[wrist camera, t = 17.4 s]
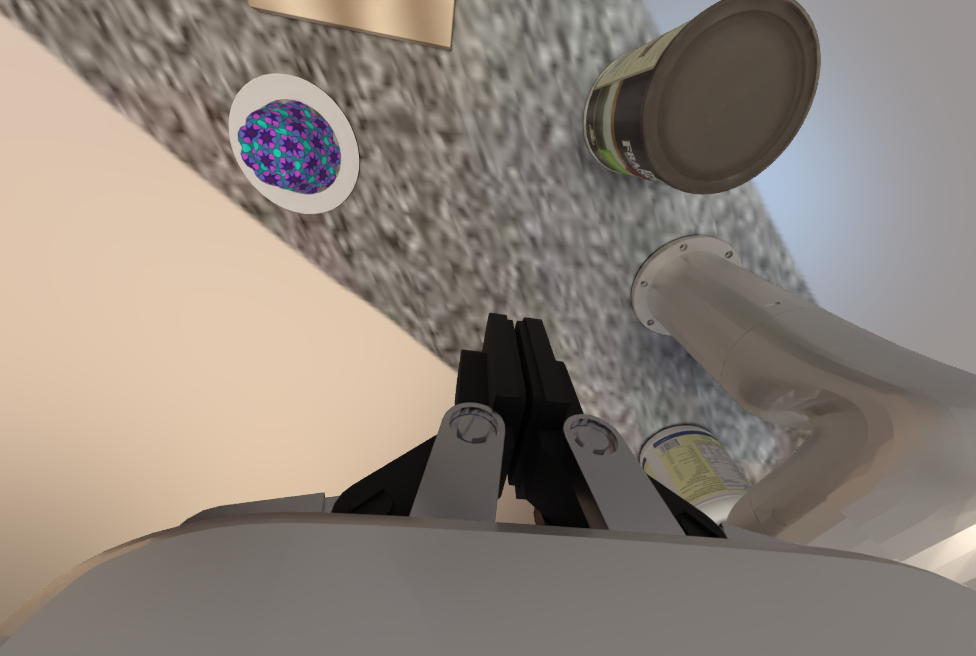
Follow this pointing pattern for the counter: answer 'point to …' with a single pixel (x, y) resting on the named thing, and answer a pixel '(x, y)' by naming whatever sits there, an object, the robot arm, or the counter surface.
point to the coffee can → (707, 97)
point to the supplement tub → (695, 469)
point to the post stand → (374, 17)
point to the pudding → (293, 143)
